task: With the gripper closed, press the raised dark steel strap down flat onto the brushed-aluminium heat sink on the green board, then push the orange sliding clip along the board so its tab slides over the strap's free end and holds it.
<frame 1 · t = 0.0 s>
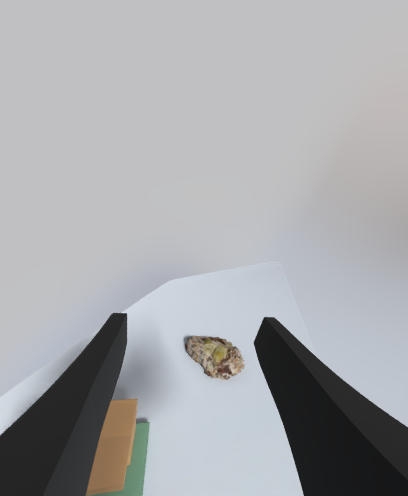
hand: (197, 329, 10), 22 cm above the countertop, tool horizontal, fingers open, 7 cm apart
mineral rock: (212, 358, 34), on the countertop
clip: (114, 452, 18), point 4 cm above the countertop, slide at 0.0 cm
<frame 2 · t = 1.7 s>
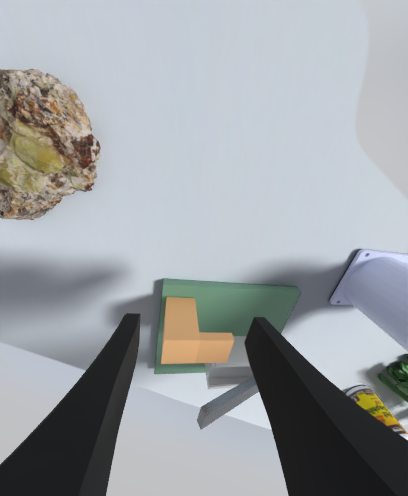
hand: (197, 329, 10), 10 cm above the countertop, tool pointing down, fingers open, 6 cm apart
supplement bottle: (354, 390, 38), on the countertop
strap: (243, 391, 21), point 6 cm above the countertop, hinge at 22.0°
board: (220, 329, 25), on the countertop
mineral rock: (42, 154, 14), on the countertop
clip: (194, 327, 19), point 4 cm above the countertop, slide at 0.0 cm
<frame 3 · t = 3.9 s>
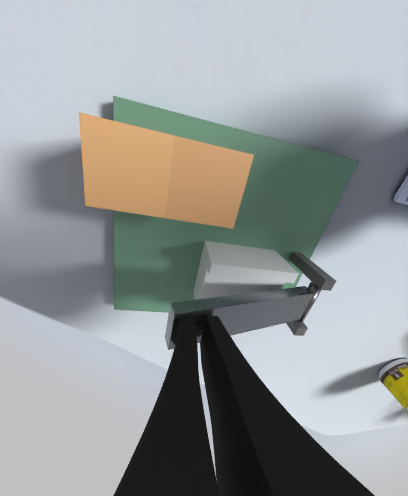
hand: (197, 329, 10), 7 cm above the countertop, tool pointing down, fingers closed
supplement bottle: (391, 366, 29), on the countertop
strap: (253, 311, 12), point 6 cm above the countertop, hinge at 15.1°, touching gripper
board: (220, 238, 15), on the countertop
clip: (171, 174, 9), point 4 cm above the countertop, slide at 0.0 cm
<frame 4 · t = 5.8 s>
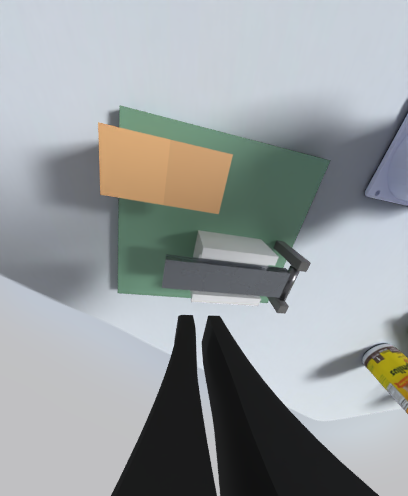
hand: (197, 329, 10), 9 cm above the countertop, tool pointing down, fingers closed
supplement bottle: (374, 352, 32), on the countertop
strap: (232, 278, 15), point 4 cm above the countertop, hinge at -0.7°
board: (212, 228, 17), on the countertop
clip: (168, 170, 11), point 4 cm above the countertop, slide at 0.0 cm
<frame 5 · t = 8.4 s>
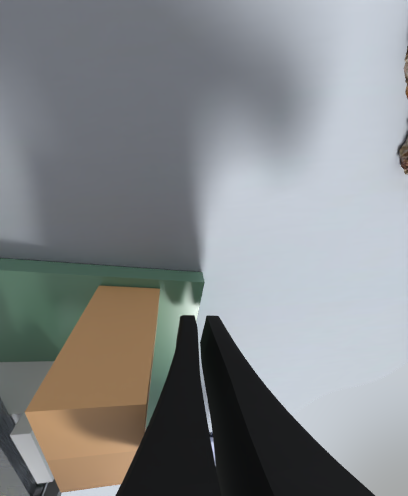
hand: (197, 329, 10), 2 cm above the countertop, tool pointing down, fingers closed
board: (78, 360, 13), on the countertop
clip: (118, 374, 9), point 4 cm above the countertop, slide at 0.9 cm, touching gripper
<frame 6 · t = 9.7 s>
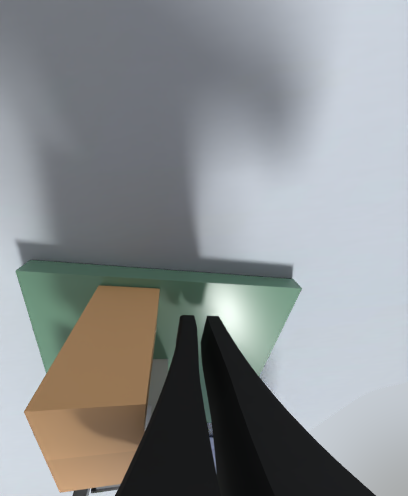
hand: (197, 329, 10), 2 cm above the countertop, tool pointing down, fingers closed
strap: (117, 445, 11), point 4 cm above the countertop, hinge at -0.7°
board: (167, 358, 14), on the countertop
clip: (117, 374, 9), point 4 cm above the countertop, slide at 7.0 cm, touching gripper
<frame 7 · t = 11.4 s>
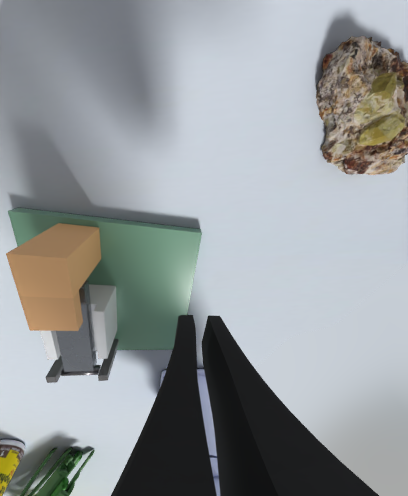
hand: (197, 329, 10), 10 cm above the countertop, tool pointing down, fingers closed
daffodil flowers: (36, 478, 37), on the countertop, touching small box
supplement bottle: (8, 444, 30), on the countertop
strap: (75, 333, 16), point 4 cm above the countertop, hinge at -0.7°
board: (118, 291, 20), on the countertop
mineral rock: (354, 114, 16), on the countertop
clip: (67, 274, 14), point 4 cm above the countertop, slide at 7.1 cm
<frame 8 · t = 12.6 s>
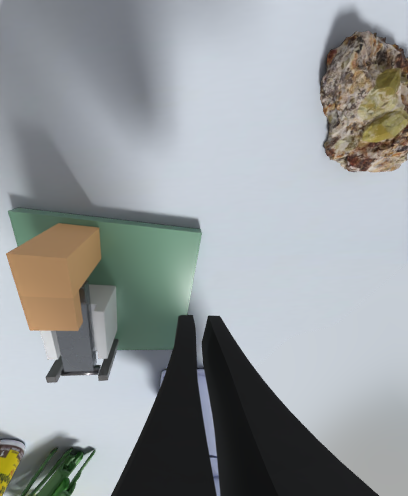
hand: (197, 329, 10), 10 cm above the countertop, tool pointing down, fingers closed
daffodil flowers: (36, 478, 37), on the countertop, touching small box
supplement bottle: (8, 444, 30), on the countertop
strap: (75, 333, 16), point 4 cm above the countertop, hinge at -0.7°
board: (118, 291, 20), on the countertop
mineral rock: (357, 111, 16), on the countertop
clip: (67, 274, 14), point 4 cm above the countertop, slide at 7.1 cm
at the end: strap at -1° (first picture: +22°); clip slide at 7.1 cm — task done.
